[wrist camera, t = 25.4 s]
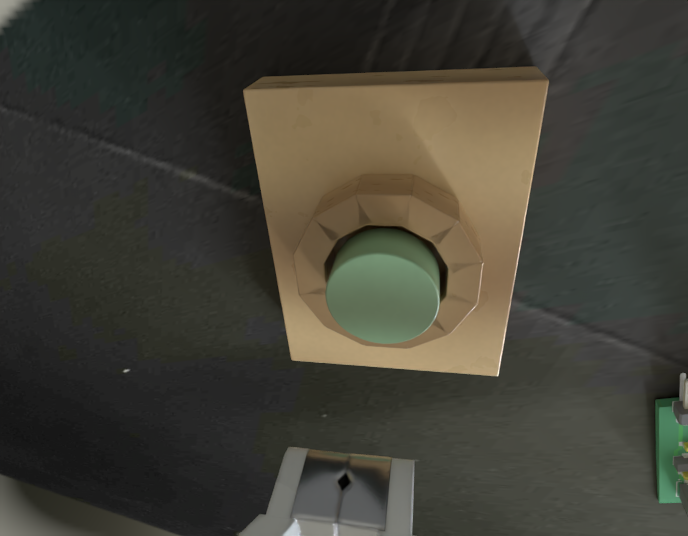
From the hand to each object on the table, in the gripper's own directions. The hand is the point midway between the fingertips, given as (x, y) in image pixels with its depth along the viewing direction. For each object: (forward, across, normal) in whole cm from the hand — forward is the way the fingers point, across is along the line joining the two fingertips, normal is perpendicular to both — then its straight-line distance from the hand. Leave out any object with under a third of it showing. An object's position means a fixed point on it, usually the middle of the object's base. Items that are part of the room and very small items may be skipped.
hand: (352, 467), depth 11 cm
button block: (+12, 0, 0) cm, 12 cm away
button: (+8, 0, 0) cm, 8 cm away
